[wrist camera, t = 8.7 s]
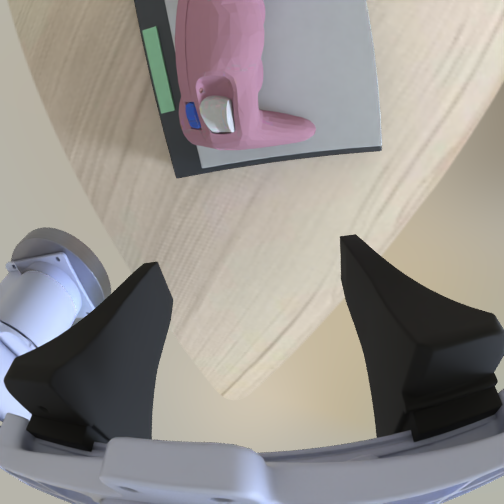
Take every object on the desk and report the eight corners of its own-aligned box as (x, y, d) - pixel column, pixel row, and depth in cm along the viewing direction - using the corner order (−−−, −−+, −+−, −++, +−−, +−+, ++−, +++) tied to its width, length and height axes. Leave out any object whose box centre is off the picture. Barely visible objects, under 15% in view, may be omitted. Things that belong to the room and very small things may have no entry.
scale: (183, 168, 20) (173, 183, 18) (140, -20, 13) (124, -29, 11) (371, 142, 18) (385, 154, 16) (343, -52, 11) (354, -65, 9)
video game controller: (246, -33, 12) (153, -66, 7) (330, -37, 10) (265, -97, 5) (242, 130, 17) (155, 164, 12) (320, 142, 16) (256, 184, 10)
